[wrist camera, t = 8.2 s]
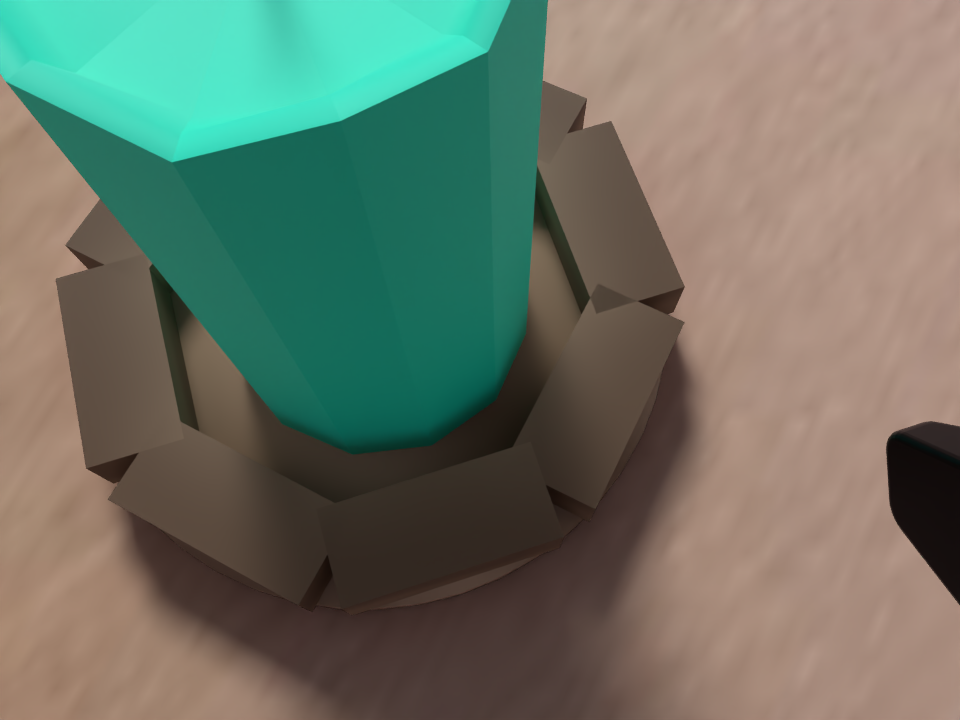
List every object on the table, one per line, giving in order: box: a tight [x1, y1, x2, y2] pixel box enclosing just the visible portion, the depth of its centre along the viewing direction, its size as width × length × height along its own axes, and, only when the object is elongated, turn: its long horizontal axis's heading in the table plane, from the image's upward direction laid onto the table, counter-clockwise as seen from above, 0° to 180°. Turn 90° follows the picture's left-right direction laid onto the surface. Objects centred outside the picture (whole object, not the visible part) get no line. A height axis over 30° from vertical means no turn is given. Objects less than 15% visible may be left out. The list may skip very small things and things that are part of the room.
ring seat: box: [56, 81, 685, 615], centre depth 18 cm, size 12×12×2 cm
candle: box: [0, 0, 548, 455], centre depth 13 cm, size 6×6×12 cm
